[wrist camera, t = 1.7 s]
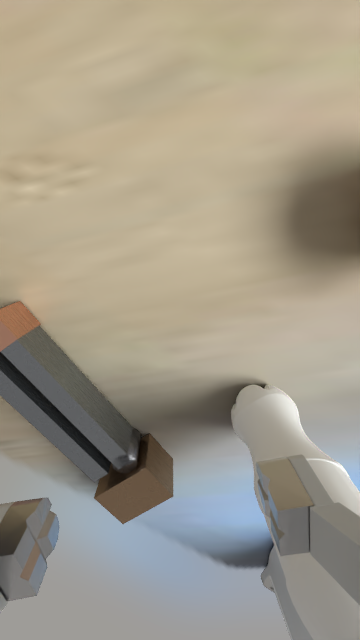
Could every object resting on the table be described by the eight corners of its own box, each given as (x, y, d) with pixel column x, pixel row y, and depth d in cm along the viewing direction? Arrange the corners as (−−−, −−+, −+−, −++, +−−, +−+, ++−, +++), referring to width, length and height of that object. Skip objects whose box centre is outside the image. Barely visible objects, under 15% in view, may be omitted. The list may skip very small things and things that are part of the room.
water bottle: (246, 436, 32) (467, 1012, 8) (215, 397, 30) (384, 998, 6) (296, 407, 31) (719, 972, 7) (267, 365, 29) (713, 940, 5)
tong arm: (145, 437, 31) (141, 467, 27) (128, 447, 32) (122, 477, 28) (20, 300, 26) (-8, 311, 22) (2, 314, 26) (-29, 327, 22)
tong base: (172, 458, 33) (173, 496, 28) (129, 483, 34) (122, 524, 29) (25, 296, 26) (-8, 309, 21) (-24, 334, 27) (-66, 354, 22)
